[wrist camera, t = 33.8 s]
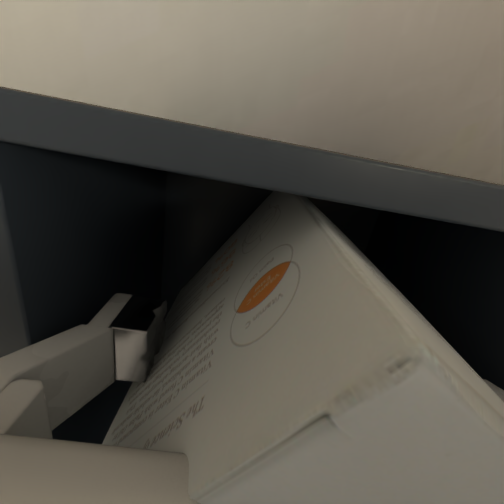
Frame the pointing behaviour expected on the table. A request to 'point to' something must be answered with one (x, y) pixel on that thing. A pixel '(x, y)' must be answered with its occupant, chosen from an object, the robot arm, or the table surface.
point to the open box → (217, 225)
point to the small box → (312, 380)
